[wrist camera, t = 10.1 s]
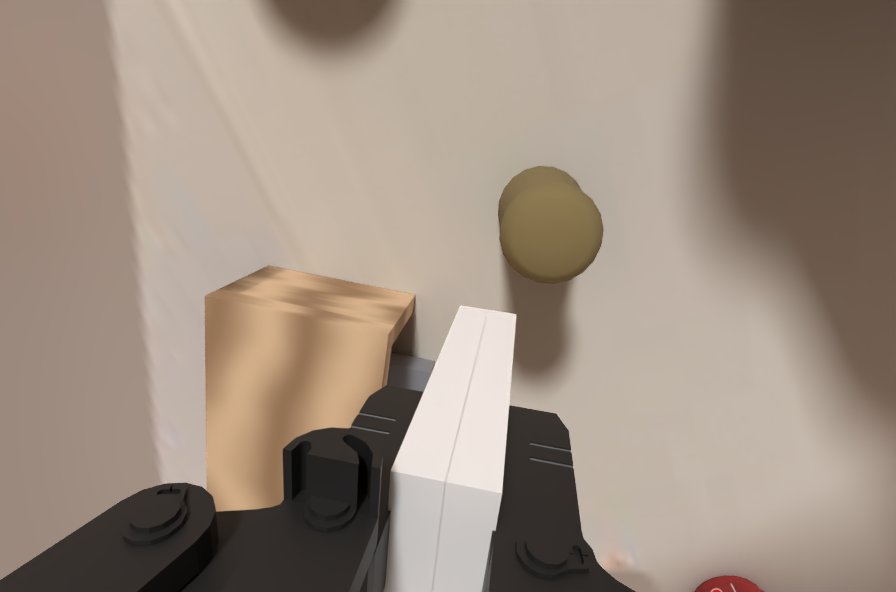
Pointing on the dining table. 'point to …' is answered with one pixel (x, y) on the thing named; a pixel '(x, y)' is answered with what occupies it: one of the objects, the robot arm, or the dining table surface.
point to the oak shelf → (288, 371)
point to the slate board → (409, 372)
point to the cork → (548, 225)
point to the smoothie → (728, 585)
